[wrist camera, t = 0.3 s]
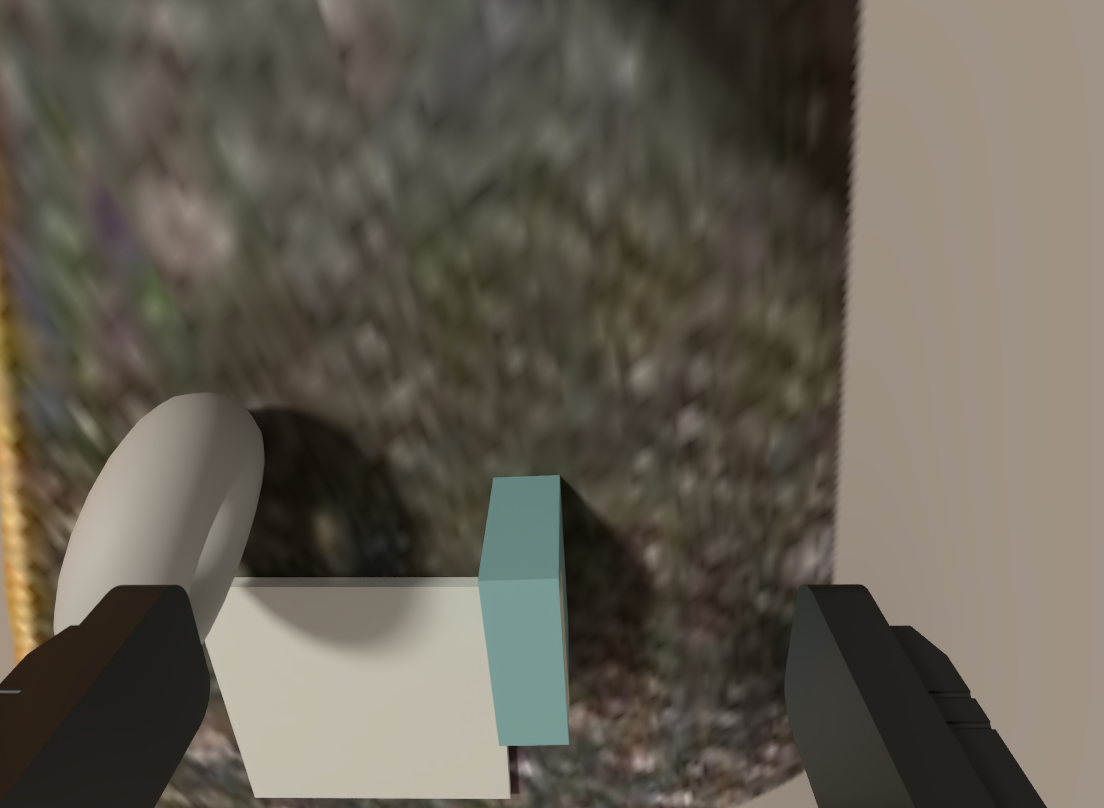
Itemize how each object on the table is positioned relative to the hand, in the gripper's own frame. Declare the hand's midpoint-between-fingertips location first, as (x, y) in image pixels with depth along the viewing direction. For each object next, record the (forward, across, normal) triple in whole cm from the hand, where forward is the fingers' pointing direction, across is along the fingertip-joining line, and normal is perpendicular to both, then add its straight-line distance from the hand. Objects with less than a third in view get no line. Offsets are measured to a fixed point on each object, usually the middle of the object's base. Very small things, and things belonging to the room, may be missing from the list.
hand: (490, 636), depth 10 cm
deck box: (+18, 0, +12) cm, 21 cm away
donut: (+18, +12, +7) cm, 22 cm away
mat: (+18, +8, +20) cm, 28 cm away
